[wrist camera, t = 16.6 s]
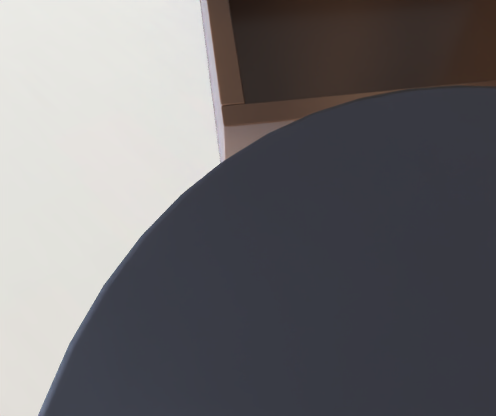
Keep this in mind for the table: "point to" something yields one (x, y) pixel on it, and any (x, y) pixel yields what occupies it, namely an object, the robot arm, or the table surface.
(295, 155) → the canister
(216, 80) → the chest
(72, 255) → the table surface
